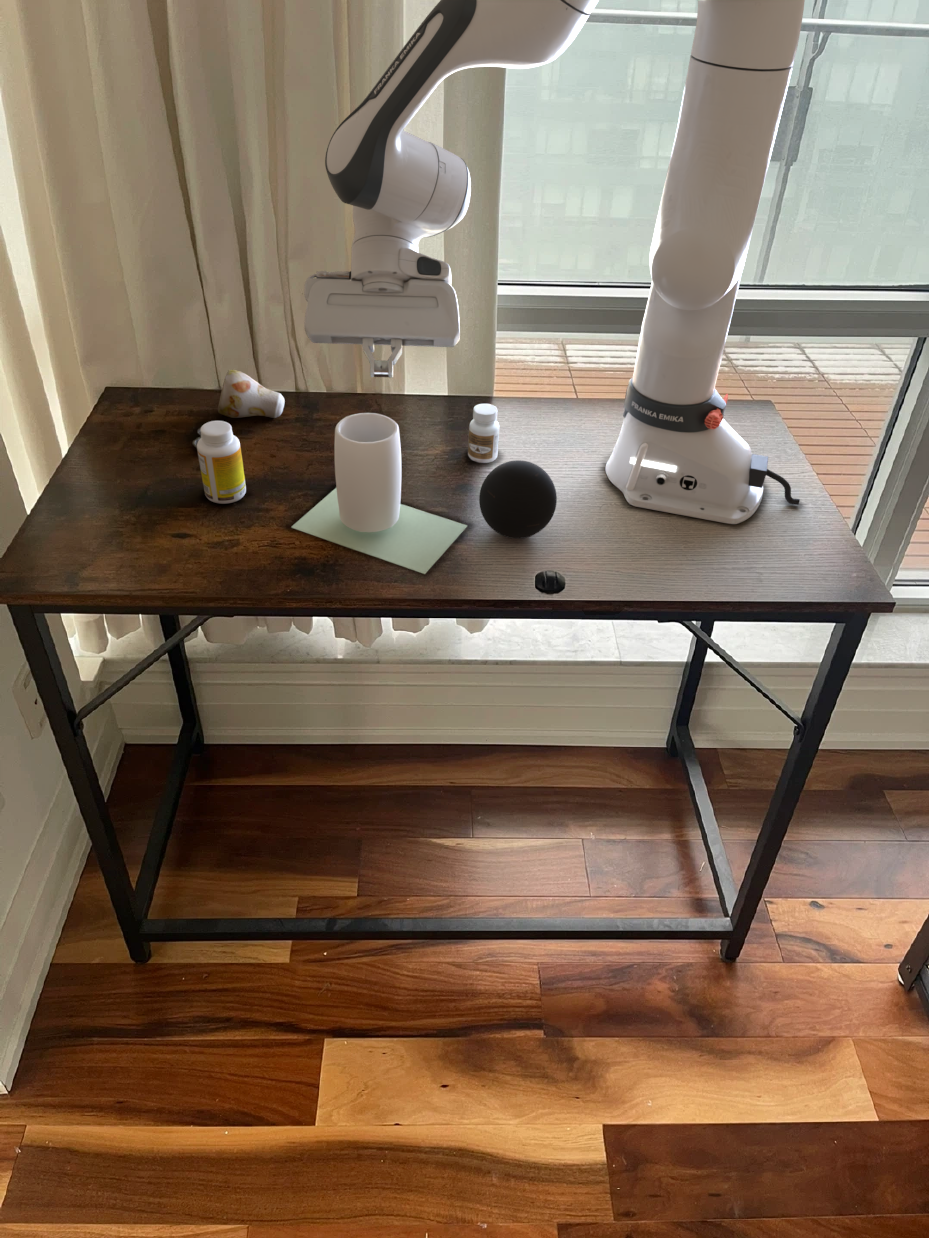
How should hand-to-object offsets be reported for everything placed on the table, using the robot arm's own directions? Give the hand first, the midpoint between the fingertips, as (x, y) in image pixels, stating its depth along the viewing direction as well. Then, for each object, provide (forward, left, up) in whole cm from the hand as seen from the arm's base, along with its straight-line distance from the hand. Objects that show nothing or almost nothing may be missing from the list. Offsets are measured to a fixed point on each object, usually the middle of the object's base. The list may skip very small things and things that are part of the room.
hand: (381, 376), depth 121 cm
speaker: (-21, +2, -16) cm, 27 cm away
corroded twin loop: (+27, +4, -16) cm, 31 cm away
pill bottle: (-9, -13, -16) cm, 23 cm away
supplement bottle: (+17, +14, -16) cm, 27 cm away
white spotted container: (+27, -6, -16) cm, 32 cm away
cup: (-4, +10, -16) cm, 19 cm away
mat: (-5, +10, -16) cm, 20 cm away
